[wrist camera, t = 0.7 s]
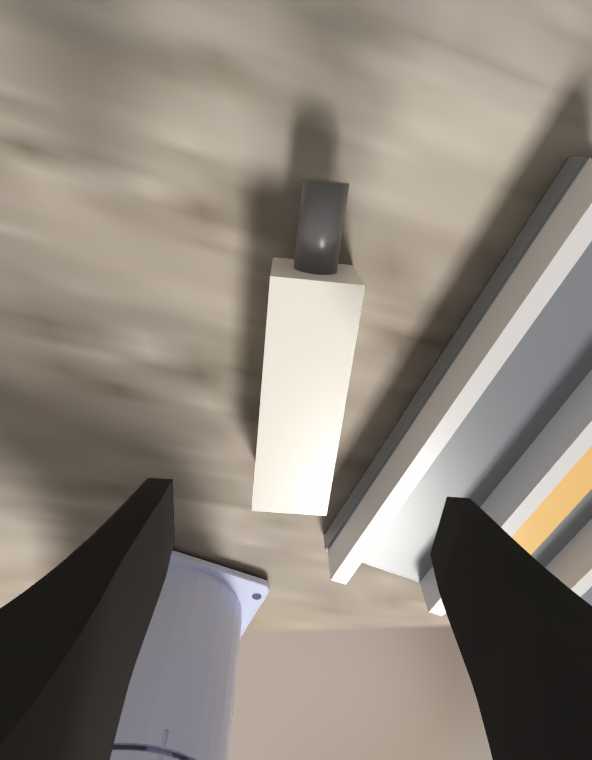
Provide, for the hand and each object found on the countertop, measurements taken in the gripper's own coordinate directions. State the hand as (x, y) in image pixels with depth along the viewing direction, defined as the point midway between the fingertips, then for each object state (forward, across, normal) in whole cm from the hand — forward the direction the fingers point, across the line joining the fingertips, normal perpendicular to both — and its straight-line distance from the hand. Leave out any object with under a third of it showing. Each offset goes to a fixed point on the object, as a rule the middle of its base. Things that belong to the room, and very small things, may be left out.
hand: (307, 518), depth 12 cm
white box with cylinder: (+9, 0, -1) cm, 9 cm away
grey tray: (+9, -14, +3) cm, 17 cm away
